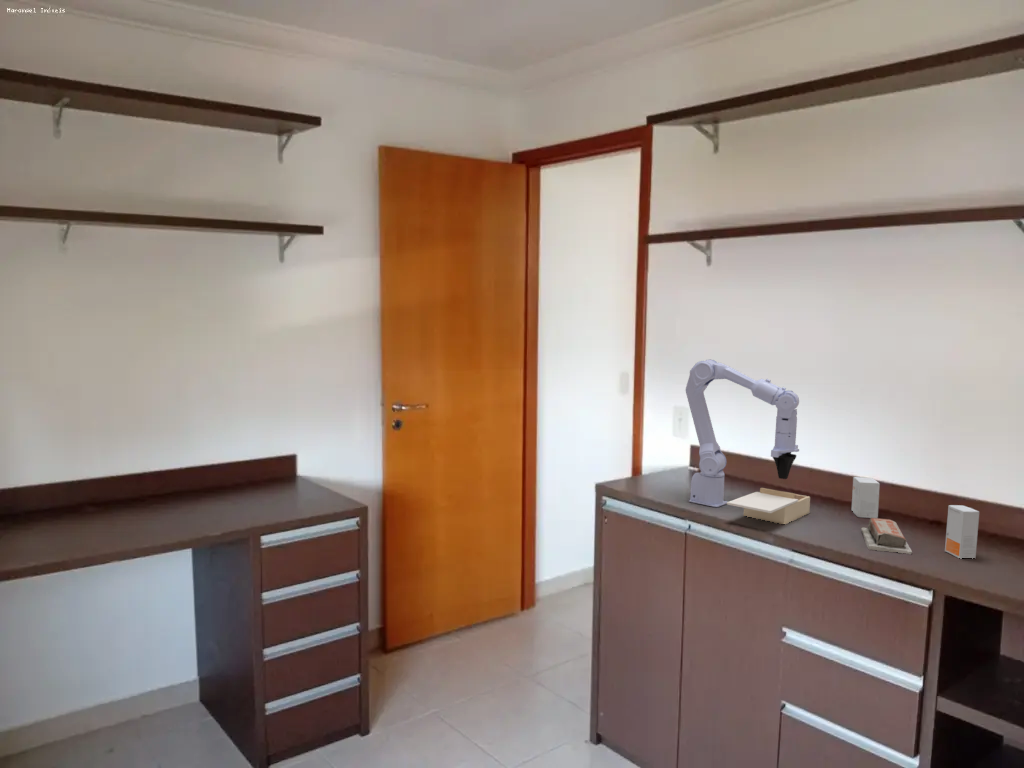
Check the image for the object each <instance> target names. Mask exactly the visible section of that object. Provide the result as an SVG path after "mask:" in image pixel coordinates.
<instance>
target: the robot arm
mask: <svg viewBox="0 0 1024 768" xmlns="http://www.w3.org/2000/svg"><path fill="white" fill-rule="evenodd" d="M714 380H728V381H730V382H732V383H735V384H737V385H739V386H741V387H744V388H746V389H748V390H750V392H751V393H752V396H753V397H755V398H757V399H758V400H761V401H762V402H764V403H767V404H769V405H771V406H775V407H776V410H777V411H776V412H777V413H776V418H775V432H774V434H775V435H774V446H773V448H772V449H771V450H770V457H772V459H773V461H774V463H775V467H776V470H777V476H778V479H781V480H787V479H788V478H789V475H790V471H791V468H792V466H793V463H794V462H795V460H796V459H797V454H793V453H797V452H800V448H799V445H798V444H796V442H797V427H798V417H797V415H798V406H799V404H800V399H799V396H798V394H797V393H795V392H794V391H793V390H789V389H788V390H786V389H787V388H786V387H784V386H782V387H780V386H778V385H776V383H775V384H774V383H772V382H771V379H769V378H765V379H764V378H760V379H754V378H752V377H750V376H749V375H746V374H745V373H742V371H739V370H737V369H736V368H734V367H731V366H730V365H727V364H725V363H722V362H719V361H716V360H714V359H706V360H699V361H697V362H695V364H694V365H693V367H692V368H690V370H689V376H688V379H687V383H686V387H685V394H686V398H687V402H688V406H689V409H690V413H691V418H692V421H693V425H694V428H695V432H696V436H697V440H698V444H699V451H698V452H699V453H698V455H699V463H698V467H699V470H700V472H695V473H694V474H693V475H692V477H691V482H690V499H689V500H688V503H694V504H699V505H704V506H708V507H709V506H710V507H713V508H719V507H722V506H725V505H727V502H729V501H728V500H724V494H725V493H724V492H725V491H724V490H725V477H726V476H725V472H724V469H725V468H726V466H727V458H726V457H727V456H726V455H725V454H724V453H723V452H722V449H721V447H720V445H719V443H718V441H717V439H716V435H715V431H714V428H713V424H712V420H711V417H710V411H709V410H708V406H707V402H706V401H707V400H706V398H705V397H706V396H705V394H704V392H705V390H707V387H708V386H709V385H710V383H712V382H713V381H714Z"/></svg>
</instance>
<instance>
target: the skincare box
mask: <svg viewBox="0 0 1024 768" xmlns="http://www.w3.org/2000/svg"><path fill="white" fill-rule="evenodd" d="M947 507H948V508H947V519H946V533H945V544H944V545H945V546H944V552H946V553H947V554H950V555H952V556H954V557H955V558H957V559H959V558H960V560H963V559H962V558H972V559H971V560H974V559H973V558H975V559H976V557H977V546H978V545H977V544H978V534H979V532H978V531H979V523H980V522H979V521H980V511H979V510H977V509H974V508H973V507H968V506H966V505H962V504H961V505H960V504H959V505H958V504H950V505H948V506H947Z"/></svg>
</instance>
